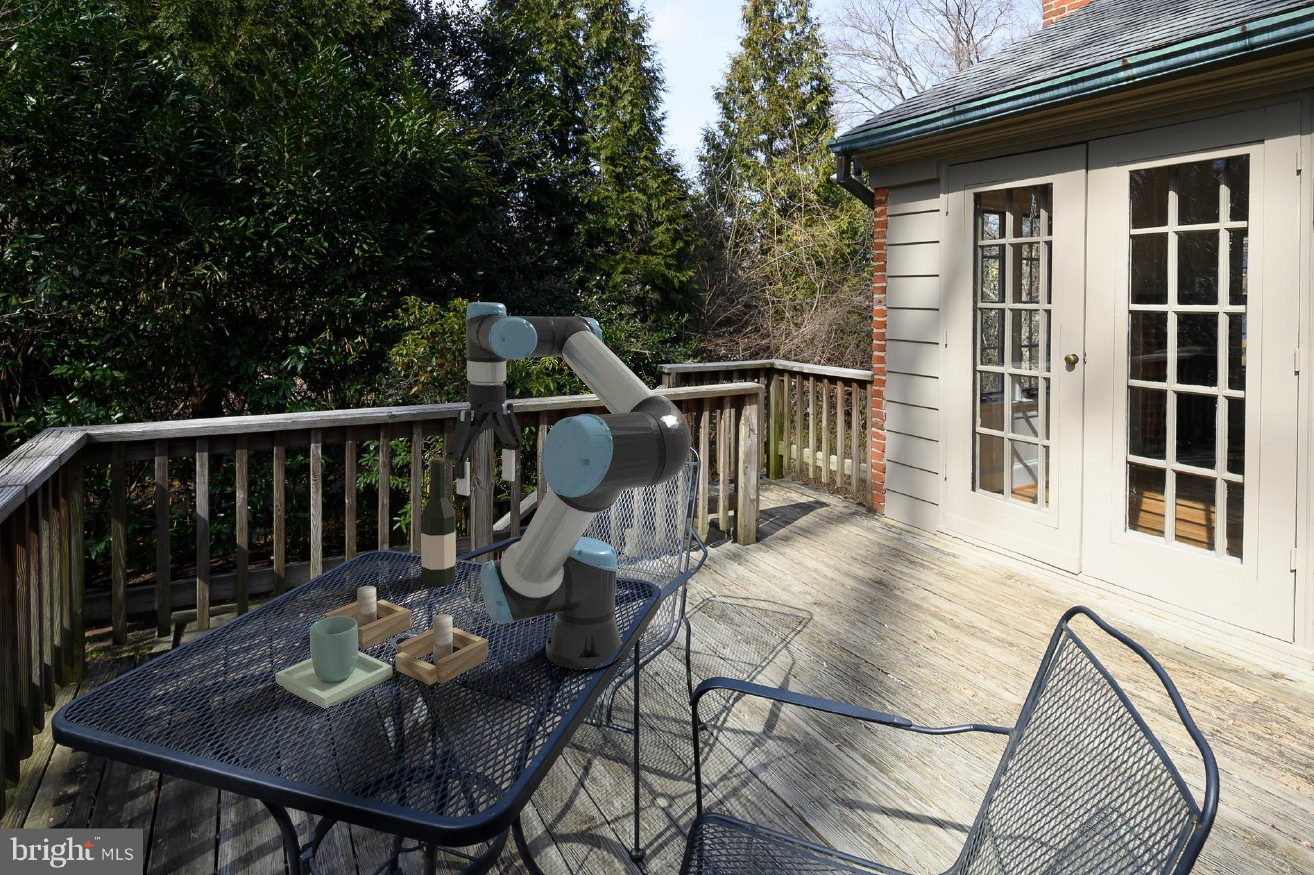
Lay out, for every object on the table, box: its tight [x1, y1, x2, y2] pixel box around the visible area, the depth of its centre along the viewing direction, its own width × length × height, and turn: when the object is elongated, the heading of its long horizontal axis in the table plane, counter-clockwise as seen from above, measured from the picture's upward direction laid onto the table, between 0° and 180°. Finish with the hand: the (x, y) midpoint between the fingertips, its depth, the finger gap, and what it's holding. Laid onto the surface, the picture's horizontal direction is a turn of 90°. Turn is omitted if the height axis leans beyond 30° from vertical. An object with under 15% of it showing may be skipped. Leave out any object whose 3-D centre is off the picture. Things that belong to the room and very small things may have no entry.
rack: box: [323, 585, 489, 686], centre depth 157 cm, size 34×15×9 cm, turn 58°
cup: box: [309, 616, 359, 682], centre depth 143 cm, size 8×8×10 cm
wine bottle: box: [420, 457, 457, 587], centre depth 188 cm, size 8×8×30 cm
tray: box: [274, 650, 393, 710], centre depth 144 cm, size 14×14×2 cm
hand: (486, 487), depth 160 cm, fingers open, 13 cm apart
